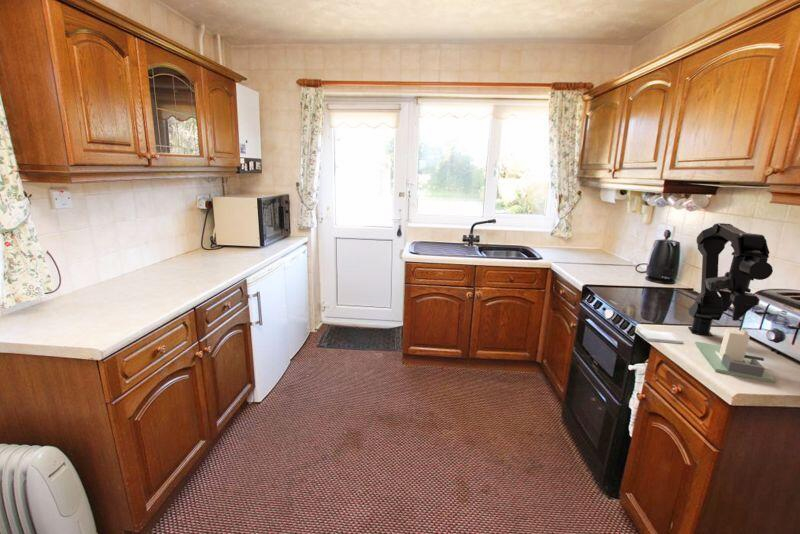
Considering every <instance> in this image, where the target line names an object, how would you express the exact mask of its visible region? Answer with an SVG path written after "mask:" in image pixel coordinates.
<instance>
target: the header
mask: <svg viewBox="0 0 800 534" xmlns="http://www.w3.org/2000/svg"><path fill="white" fill-rule="evenodd" d="M721 363H722V364H723V365H724V366H725V368H726V369H727V370H728V371H731V372H737V373H742V374H748V375H753V376H758V377H762V375H763V372H764V369H765V367H764V366H763V365H762V364H761V363H760V362H759V360H756V359H751V363H750V364H746V363H740V362H735V361H733V360H732V359H731V358H730V357H729V356H728V355H727V354H723V358H722V362H721Z"/></svg>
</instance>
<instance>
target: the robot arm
mask: <svg viewBox="0 0 800 534" xmlns="http://www.w3.org/2000/svg"><path fill="white" fill-rule="evenodd" d="M729 242H730V243H731V244H730V246H731V248H732V249H733V251H732V252H731V256H732V259H731V264H730V267H729V271H726V272H725V273H724V276H723V275H722V276H719V256H720V255H721V253H722V252H723V250H724V249H725V247H726V246H725V245H726V244H727V243H729ZM696 244H697V250H698V251H699V253H700V255H702V263H701V264H702V265H701V281H700V282H701V286H700V293H699V294H698V295H697V296H696V297H695V300H694V303H693V304H692V305H691V306H690V307H689V308H688V315H690V316H691V317H692V318H693V319H692V323H691V326H688V327H687V328H688V330H689V331H690V332H691V333H692V334H696V335H703V336H706V337H707V336H709V337H713V336H714V334H712V332H711V328H712V325H713V321H720V320H721V318H722V316H723V315H724V312H725V313H726V312H727V311H728V310H729V308H730V307H731V306H732V307H733V308H732V317H731V319H732V321H735V322H737V321H739V319H741V318H742V317H743V316H744V315H745V314H746V313H747V312H748V311H750V310H751V309H752V308H754V307H756V306H759V304H760V298H759V297H758V295H755V294H754V293H752V292H751V291H752V289H750V288H749V287H750V284H751V281H752V282H753V281H754V280H758V281H762V280H766V279H768V278H770V277H771V276H772V274H773V272H774V271H773V266H772V265H771V264H770V263H768V259H769V258H770V257H769V254H770V250H769V247H768V242H767V239H766V237H765V236H764V234H758V233H750V232H746V231H743V230H741V229H739V228H738V227H736V226H734V225H733V224H731V223H723V222H722V223H720V222H719V223H714V224H713V225H712V226H710V227H707V228H705V229H703V230H702V231H701V232H700V233H699V234H698V235H697V237H696Z"/></svg>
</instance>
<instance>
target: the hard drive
mask: <svg viewBox="0 0 800 534" xmlns="http://www.w3.org/2000/svg"><path fill="white" fill-rule="evenodd" d="M635 332H636V333H637V334H638V335H639V336H640V337H641V338H642V339H643V340H644V341H648V342H656V343H657V342H658V343H669V344H679V343H683V344H684V340H682V339H681V338H679V336H677V335H676V334H675V333H673V332H668V331H667V332H666V331H656V330H645V329H636V331H635Z"/></svg>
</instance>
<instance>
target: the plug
mask: <svg viewBox="0 0 800 534" xmlns="http://www.w3.org/2000/svg"><path fill="white" fill-rule="evenodd" d="M750 337H751V336H750V335H749V332H748V331H747V330H746V328H742V327H741V328H740V330H739V329H738V330H737V329H731V328H725V330H724V333H723V338H722V342H721V345H720V346H721V349H720V352H719V354H720V355H721V356H722V357H723V354H727V355H728V356H729V357H730V358H731V359H732V360H734V361H740V362H743V360H744V358H748V359H756V360H757V361H761V362H764V361H765V359H764V357H761V356H760V357H759V356H755V355H751V356H749V355H745V352H746V351H747V348H748V344H749V340H750Z"/></svg>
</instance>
